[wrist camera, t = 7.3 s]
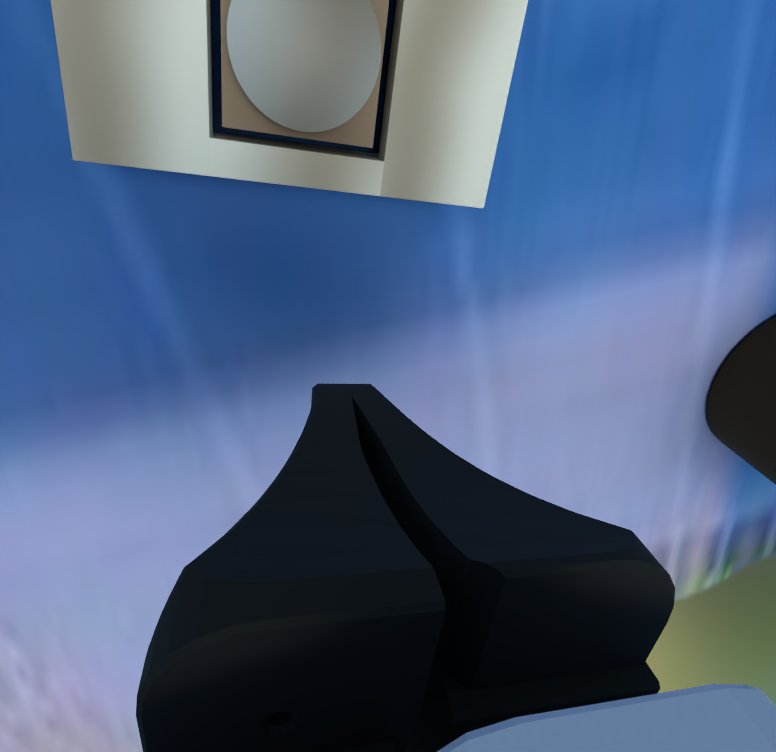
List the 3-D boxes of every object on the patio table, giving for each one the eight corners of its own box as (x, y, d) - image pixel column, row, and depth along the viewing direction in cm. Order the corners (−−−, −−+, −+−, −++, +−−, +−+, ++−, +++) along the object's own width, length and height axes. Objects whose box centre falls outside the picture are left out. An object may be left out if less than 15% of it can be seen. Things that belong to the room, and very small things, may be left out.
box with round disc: (230, 123, 17) (219, 127, 13) (229, -39, 15) (216, -83, 11) (356, 142, 18) (377, 150, 14) (371, -8, 16) (399, -39, 13)
